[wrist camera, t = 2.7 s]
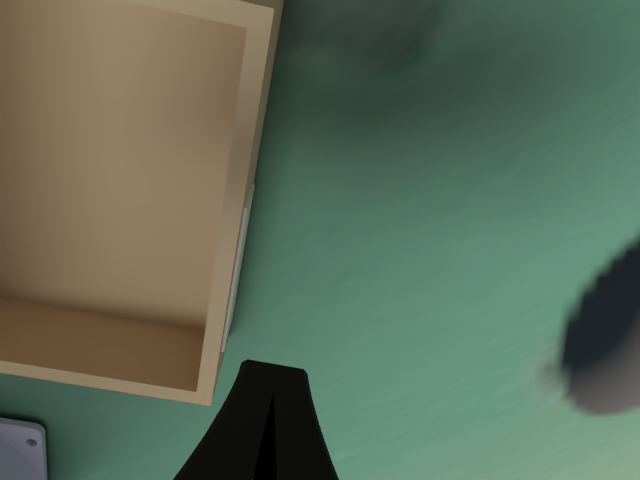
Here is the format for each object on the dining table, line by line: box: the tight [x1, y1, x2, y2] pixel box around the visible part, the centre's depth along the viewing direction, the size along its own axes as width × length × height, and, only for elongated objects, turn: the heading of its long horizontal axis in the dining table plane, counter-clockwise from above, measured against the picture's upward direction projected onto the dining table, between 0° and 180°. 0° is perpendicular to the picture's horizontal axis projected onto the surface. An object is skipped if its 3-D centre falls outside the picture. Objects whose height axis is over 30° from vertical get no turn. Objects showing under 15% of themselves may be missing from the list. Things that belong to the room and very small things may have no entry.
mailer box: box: [0, 0, 284, 406], centre depth 18 cm, size 14×10×4 cm
